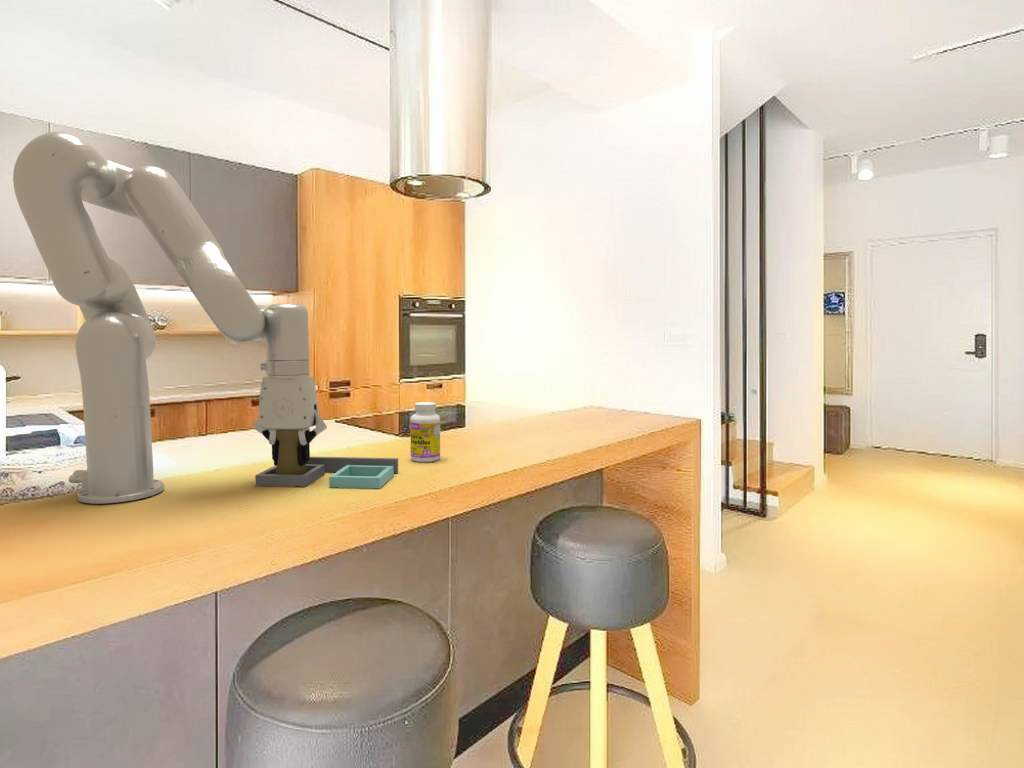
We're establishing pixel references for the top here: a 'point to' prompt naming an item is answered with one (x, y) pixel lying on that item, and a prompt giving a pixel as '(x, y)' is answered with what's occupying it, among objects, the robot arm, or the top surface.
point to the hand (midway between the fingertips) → (291, 463)
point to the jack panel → (347, 473)
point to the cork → (288, 453)
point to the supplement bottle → (425, 433)
